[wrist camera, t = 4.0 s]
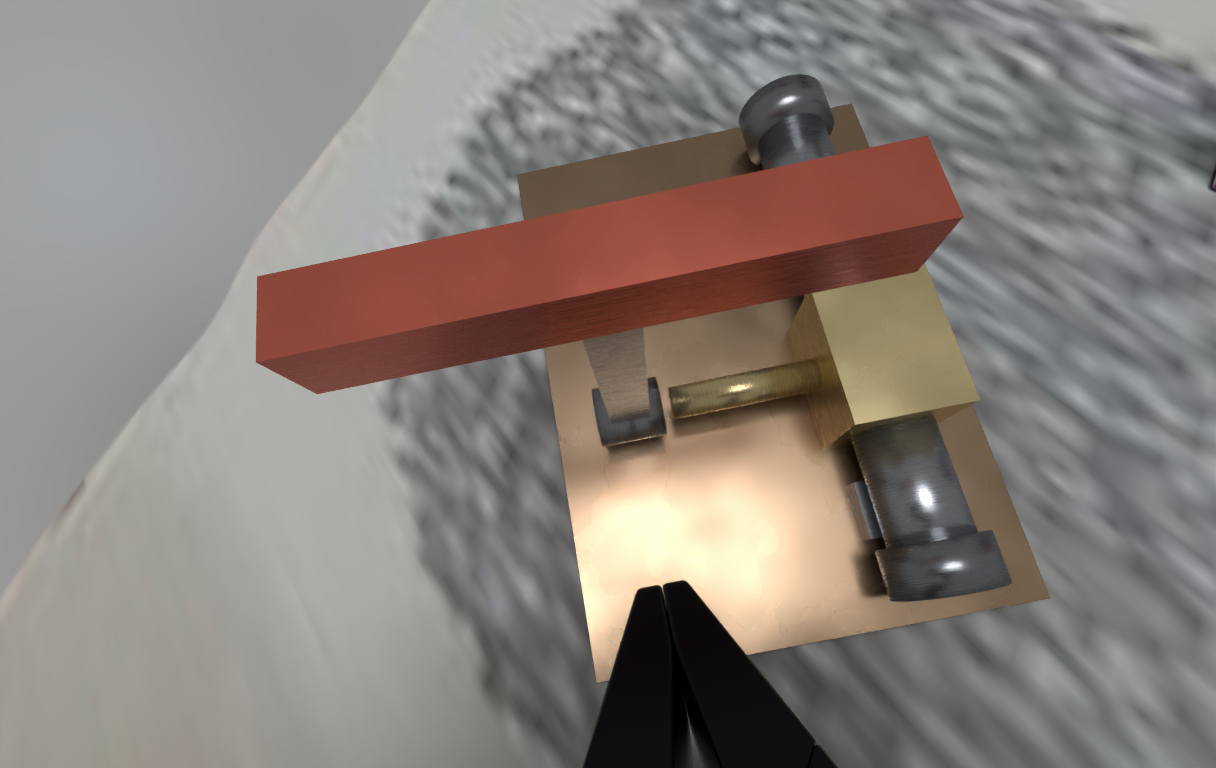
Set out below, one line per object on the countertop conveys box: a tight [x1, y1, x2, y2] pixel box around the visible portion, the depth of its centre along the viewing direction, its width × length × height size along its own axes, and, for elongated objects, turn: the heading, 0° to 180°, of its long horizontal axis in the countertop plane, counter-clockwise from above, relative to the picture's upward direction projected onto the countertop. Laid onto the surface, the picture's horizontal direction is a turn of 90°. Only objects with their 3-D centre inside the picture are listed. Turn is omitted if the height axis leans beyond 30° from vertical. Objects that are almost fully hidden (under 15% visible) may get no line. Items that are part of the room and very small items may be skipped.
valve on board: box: [517, 74, 1050, 683], centre depth 23 cm, size 22×16×5 cm
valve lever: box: [256, 136, 964, 447], centre depth 17 cm, size 2×13×13 cm, turn 100°
